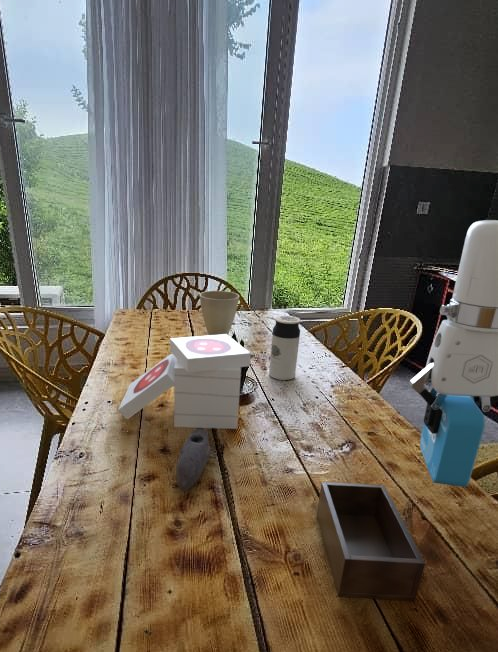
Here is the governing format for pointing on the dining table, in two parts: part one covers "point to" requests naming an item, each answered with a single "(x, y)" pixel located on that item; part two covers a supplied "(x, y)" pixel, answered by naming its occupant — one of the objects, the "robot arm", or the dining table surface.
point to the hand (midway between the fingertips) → (450, 429)
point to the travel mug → (284, 347)
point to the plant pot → (218, 310)
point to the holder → (368, 543)
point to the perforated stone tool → (192, 459)
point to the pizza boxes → (194, 382)
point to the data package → (454, 441)
